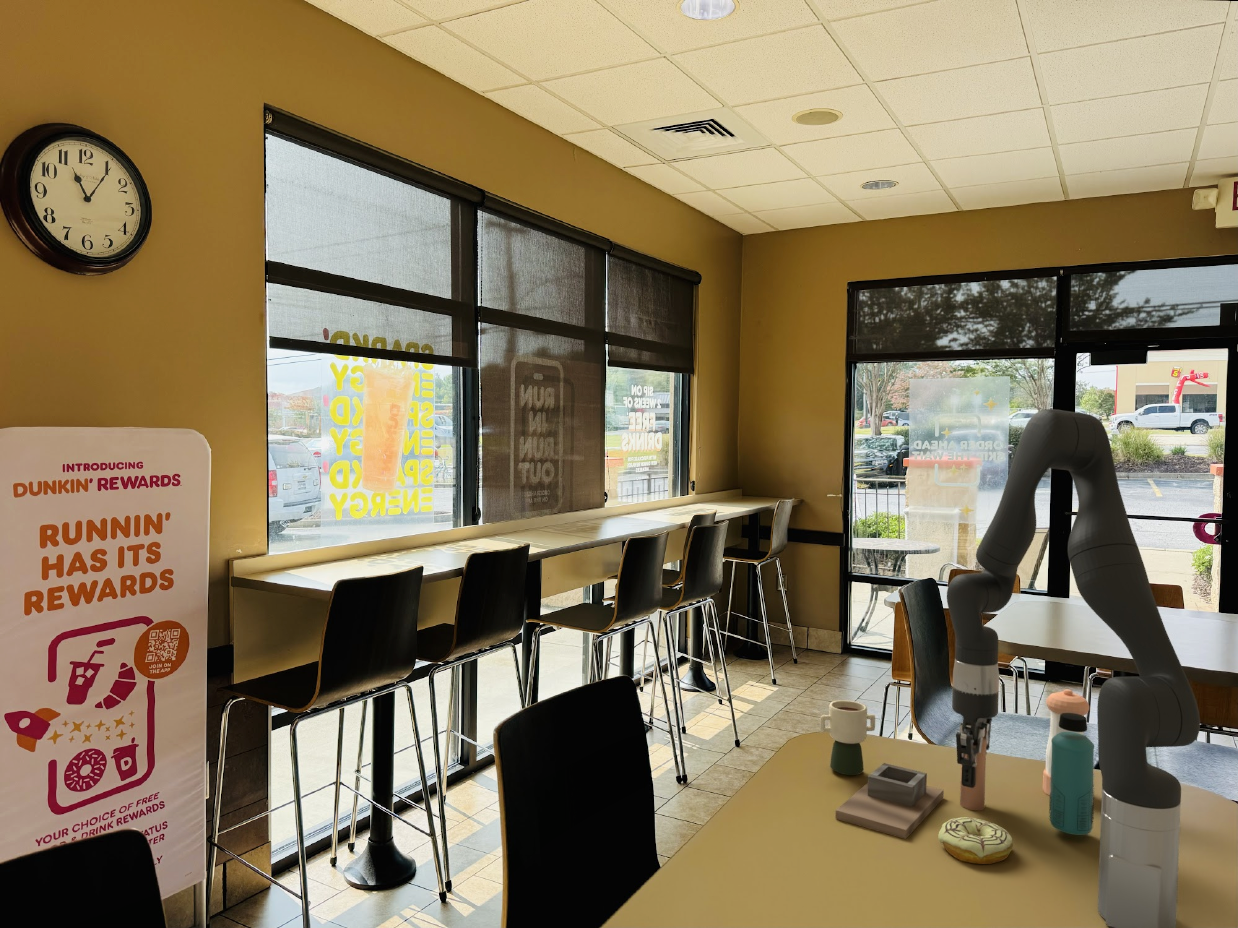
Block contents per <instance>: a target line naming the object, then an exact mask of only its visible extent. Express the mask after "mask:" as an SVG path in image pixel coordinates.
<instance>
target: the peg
mask: <svg viewBox="0 0 1238 928" xmlns="http://www.w3.org/2000/svg"><path fill="white" fill-rule="evenodd" d="M976 747H977V745H975V746H974V745H973V748H976ZM986 752H987V750H986V739H985V738H983V739H982V747H981V753H980V754H978V755H977V765H976V785H975V787H974V788H970V787H966V786H963V785H962V783H961V782H960V788H959V789H960V791H959V792H960V793H959V795H960V796H959V805H960V806H961V807H962V808H964V809H967V810H971V811H982V810H984V809H985V801H986V767H987V766H986V764H987V762H986V761H987V758H986V757H987V755H986ZM965 758H968V759H969V756H968V755H967V754H966V756H965ZM960 765H961V766H960V781H961V780H962V764H960Z"/></svg>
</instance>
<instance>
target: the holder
mask: <svg viewBox="0 0 1238 928" xmlns="http://www.w3.org/2000/svg"><path fill="white" fill-rule="evenodd" d="M927 778H928V773H927V772H923V771H920V770H919V771H918V770H915V769H911V768H908V767H907V768H906V767H903V766H902V767H901V766H898V765H894V764H889V763H886V762H883V763H882V764H881V765H880V766H879V767H878V768H876V769H874V770H873V772H871V773H870V774H869V775H868V776H867V783H866V784H864V785H863V786H862V787H861V788H860V789H859V790H858V791H856V792H855V793H853V795H852V796H850V797H849V798H848V799H847V800H846V801H844V802H843V803H842V804H841V805H840V806H839V807H837V808H836V809H835V820H838V821H842V822H844V823H848V824H852V825H856V826H859V827H863V828H867V829H869V830H873V831H877V832H880V833H884V834H886V835H891V836H894V837H897V838H899V839H900V838H901V839H905V840H906V839H907V838H908V837H910V835H911V834H912V832H914V830H916V828H917V827H918V826H919V825H920V824H921V823H922V822H923V821H924V820H925V819H926V817H927V816H928V815H929V814H930V813H931V812H932V811H933V810H934V809H935V808H936V806H938V805H939V803H941V801H942V800H943V799H944V789H941V788H938V787H933V786H929V785H927V782H928V781H927V780H928V779H927Z"/></svg>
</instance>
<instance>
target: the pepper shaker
mask: <svg viewBox="0 0 1238 928" xmlns="http://www.w3.org/2000/svg"><path fill="white" fill-rule="evenodd" d="M1045 702H1046V705H1047V708H1048V710H1049V711H1050V718H1049V719H1050V721H1049V724H1050V725H1049V735H1048V741H1047V745H1046V750H1045V768H1044V769H1043V771H1042V772H1043V773H1042V776H1043V777H1042V791H1043V792H1044V793H1045V794H1046V795H1048V796H1050V792H1051V786H1050V785H1051V779H1050V778H1051V760H1052V738H1053V737H1054V736H1055V735H1057V734H1059V733H1060V732H1073V731H1068V730H1064V729H1062V728H1060V727H1059V720H1060V715H1061V714H1062V713H1076V714H1080V715H1082V716H1084V717H1085V715H1087V714H1088V712H1089V711H1090V705H1089V701H1087V699H1086V698H1085V697H1083V696H1081V695H1080V694H1078V693H1074V692H1073V690H1071V689H1070V688H1069V689H1067V688H1066V689H1063V690H1062V691H1056V692H1052V693H1050V694H1049V695H1048V697H1046V701H1045ZM1074 733H1079V734H1082V735H1084V733H1085V732H1074ZM1084 736H1085V735H1084ZM1049 790H1050V791H1049Z"/></svg>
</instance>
